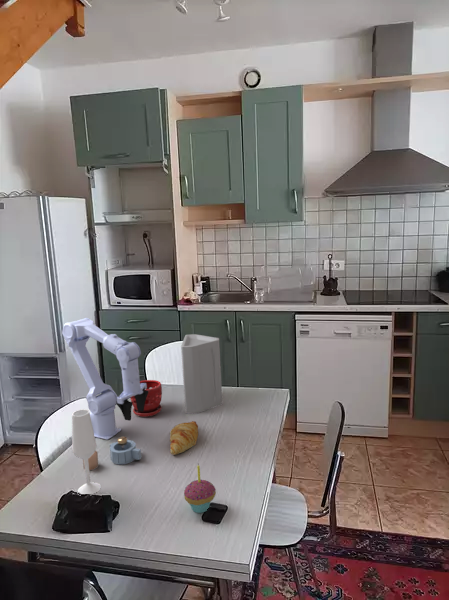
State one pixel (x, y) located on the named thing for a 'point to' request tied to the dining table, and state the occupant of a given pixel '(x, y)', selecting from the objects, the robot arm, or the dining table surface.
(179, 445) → the croissant
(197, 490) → the cupcake
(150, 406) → the plant pot
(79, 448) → the champagne flute
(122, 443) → the plunger
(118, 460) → the press pot
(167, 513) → the dining table surface
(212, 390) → the grey tall triangular prism
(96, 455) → the tan rounded cylinder
